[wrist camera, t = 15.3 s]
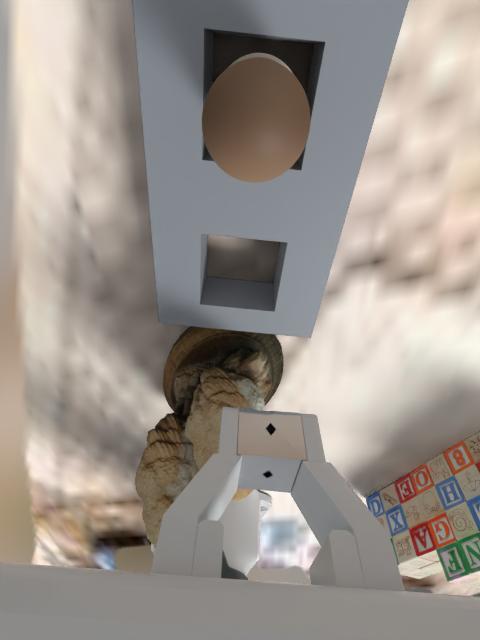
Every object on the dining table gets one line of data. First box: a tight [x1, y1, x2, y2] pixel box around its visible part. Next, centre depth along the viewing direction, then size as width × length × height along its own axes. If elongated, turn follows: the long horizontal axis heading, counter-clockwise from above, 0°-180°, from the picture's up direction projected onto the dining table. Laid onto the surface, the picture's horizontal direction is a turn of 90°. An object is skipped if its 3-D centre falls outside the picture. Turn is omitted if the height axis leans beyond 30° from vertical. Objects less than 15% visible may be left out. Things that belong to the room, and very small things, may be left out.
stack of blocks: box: [366, 431, 480, 589], centre depth 41 cm, size 21×6×12 cm, turn 154°
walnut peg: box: [202, 53, 310, 183], centre depth 16 cm, size 4×4×10 cm
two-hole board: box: [132, 0, 409, 338], centre depth 22 cm, size 20×12×4 cm, turn 175°
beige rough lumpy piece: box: [135, 326, 283, 548], centre depth 29 cm, size 18×12×17 cm, turn 163°
